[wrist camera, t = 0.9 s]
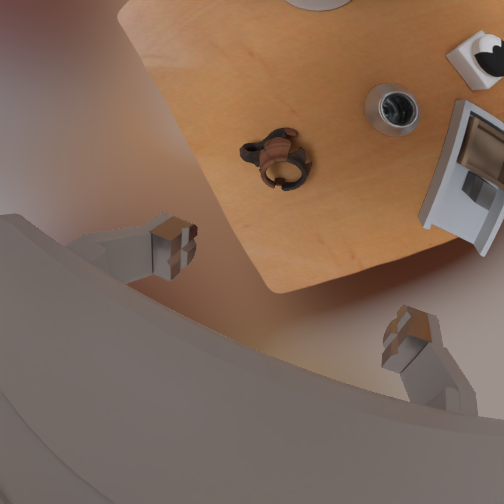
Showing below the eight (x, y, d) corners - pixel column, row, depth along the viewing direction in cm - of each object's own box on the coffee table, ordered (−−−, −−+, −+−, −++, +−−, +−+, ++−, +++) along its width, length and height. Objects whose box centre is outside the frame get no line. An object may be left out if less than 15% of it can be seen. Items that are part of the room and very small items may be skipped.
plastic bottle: (407, 127, 36) (438, 140, 20) (368, 132, 39) (373, 146, 23) (398, 89, 33) (424, 74, 17) (358, 94, 36) (356, 80, 20)
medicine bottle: (494, 72, 23) (527, 67, 13) (471, 91, 27) (502, 88, 18) (467, 38, 22) (494, 21, 13) (444, 56, 26) (468, 41, 17)
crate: (464, 115, 29) (480, 117, 24) (510, 144, 27) (529, 151, 21) (444, 180, 36) (456, 193, 30) (489, 205, 34) (504, 220, 28)
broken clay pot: (314, 127, 42) (316, 156, 38) (306, 167, 50) (306, 199, 46) (243, 120, 43) (234, 148, 39) (243, 161, 51) (236, 191, 47)
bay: (455, 100, 29) (465, 99, 25) (516, 138, 26) (529, 142, 22) (417, 216, 42) (422, 227, 38) (476, 243, 39) (484, 256, 35)
